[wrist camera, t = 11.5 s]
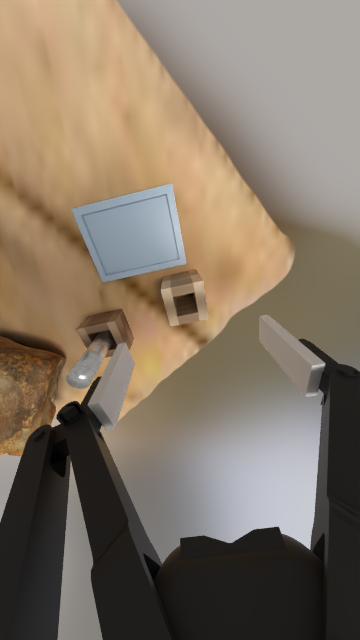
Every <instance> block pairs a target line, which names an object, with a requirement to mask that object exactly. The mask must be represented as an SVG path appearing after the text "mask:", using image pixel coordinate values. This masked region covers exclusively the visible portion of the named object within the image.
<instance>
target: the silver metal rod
mask: <svg viewBox="0 0 360 640" xmlns="http://www.w3.org/2000/svg"><path fill="white" fill-rule="evenodd" d="M113 341H114V337H113V335H112V333H111V331H110V330H106V331H101V332H99V334H98V335H97V336H96V338H95V339H94V340H93V342H92V343H91V344H90V346H89V347H88V348H87V350H86V351H85V352H84V354H83V355H82V357H81V358H80V359H79V361H78V362H77V363H76V365H75V366H74V367H73V369H72V370H71V371H70V373H69V374H68V375H67V377H66V380H67V382H68V384H69V385H71V386H72V387H75V388H80V389H82V388H86V387H88V386H89V384H90V383H91V381H92V379H93V377H94V375H95V374H96V372H97V370H98V368H99V366H100V365H101V363H102V361H103V359H104V357H105V356H106V354H107V352H108V350H109V348H110V347H111V345H112V343H113Z"/></svg>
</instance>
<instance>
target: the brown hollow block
mask: <svg viewBox="0 0 360 640" xmlns="http://www.w3.org/2000/svg"><path fill="white" fill-rule="evenodd" d="M76 330H77V332H78V334H79V336H80V337H81V339H82V341H83V342H84V344H85V346H86V347H87V348H88V347H89V346H90V344H91V343H92V342H93V340H94V339H95V338H96V336H97V335H98V334H99V332H101V331H106V330H110V331H111V333H112V335H113V337H114V341H113V343H112V345H111V347H110V348H109V350H108V352H107V354H106V356H105V357H110V356H113V354H114V352H115V350H116V348H117V346H118V344H121V343H126V344H127V347H128V349H129V350H130V348H131V345H132V342H133V340H134V337H133V335H132V332H131V330H130V327H129V325H128V322H127V320H126V317H125V315H124V312H123V310H117V311H112V312H108V313H103V314H98V315H93V316H89V317H88V318H87V319H86V320H85V321H84V322H83V323H82V324H81V325H80V326H79V327H78V328H77V329H76ZM105 357H104V358H105Z"/></svg>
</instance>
